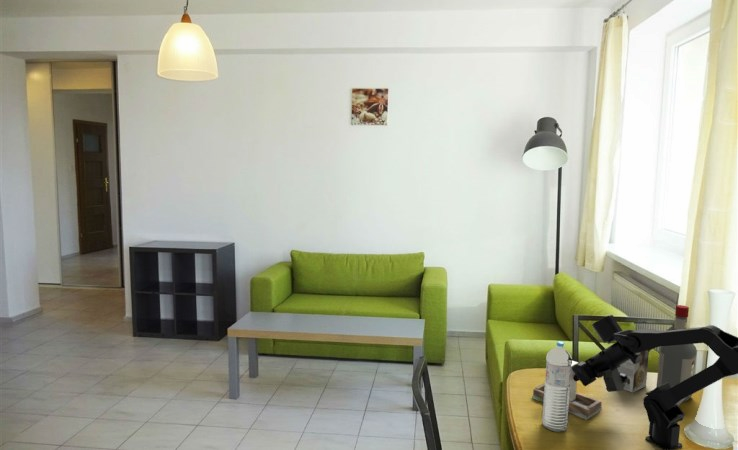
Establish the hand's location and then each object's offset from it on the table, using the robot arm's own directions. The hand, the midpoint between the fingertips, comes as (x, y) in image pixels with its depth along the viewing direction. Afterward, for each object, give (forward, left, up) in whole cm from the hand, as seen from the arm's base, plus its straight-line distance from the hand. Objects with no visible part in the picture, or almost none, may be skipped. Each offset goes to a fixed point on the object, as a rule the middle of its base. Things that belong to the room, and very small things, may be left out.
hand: (574, 379), depth 159 cm
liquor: (-6, -37, -8) cm, 39 cm away
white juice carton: (+3, +2, -7) cm, 8 cm away
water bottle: (-9, +15, -8) cm, 19 cm away
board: (+1, +1, -8) cm, 8 cm away
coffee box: (+4, -29, -9) cm, 31 cm away
